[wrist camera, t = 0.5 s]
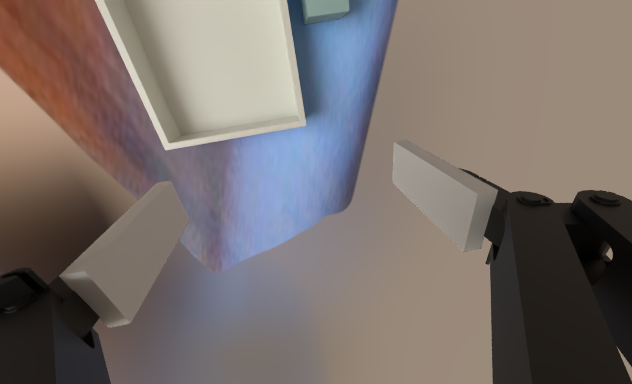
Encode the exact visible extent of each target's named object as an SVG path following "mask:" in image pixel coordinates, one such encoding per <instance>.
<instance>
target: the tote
mask: <svg viewBox="0 0 632 384" xmlns="http://www.w3.org/2000/svg"><path fill="white" fill-rule="evenodd" d="M95 1H96V3H97V6H98V8H99V10H100V12H101V14H102V16H103V18H104V20H105V23H106V25H107V27H108V29H109V31H110V33H111V35H112V37H113V40H114V42H115V44H116V46H117V48H118V50H119V52H120V54H121V57H122V59H123V61H124V63H125V65H126V67H127V69H128V72H129V74H130V76H131V78H132V80H133V82H134V84H135V86H136V89H137V91H138V93H139V95H140V97H141V99H142V101H143V103H144V106H145V108H146V110H147V112H148V114H149V116H150V118H151V120H152V123H153V125H154V127H155V129H156V131H157V133H158V135H159V137H160V140H161V142H162V144H163V146H164V148H165V150H170V149H176V148H181V147H187V146H193V145H199V144H204V143H210V142H216V141H221V140H227V139H233V138H239V137H244V136H250V135H256V134H262V133H267V132H273V131H279V130H284V129H290V128H296V127H302V126H306V119H305V113H304V107H303V100H302V94H301V87H300V81H299V75H298V68H297V62H296V55H295V49H294V43H293V36H292V30H291V23H290V17H289V11H288V4H287V0H95Z"/></svg>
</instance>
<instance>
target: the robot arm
mask: <svg viewBox="0 0 632 384" xmlns="http://www.w3.org/2000/svg"><path fill="white" fill-rule="evenodd" d="M392 182H393V183H394V184H395V185H396V186H397V187H398V188H399V189H400V190H401V191H402V192H403V193H404V194H405V195H406V196H407V197H408V198H409V199H410V200H411V201H412V202H413V203H414V204H415V205H416V206H417V207H418V208H419V209H420V210H421V211H422V212H423V213H424V214H425V215H426V216H427V217H428V218H429V219H430V220H431V221H432V222H433V223H434V224H435V225H436V226H437V227H438V228H439V229H440V230H441V231H442V232H443V233H444V234H445V235H446V236H447V237H448V238H449V239H450V240H452V241H453V242H454V243H455V244H456V245H457V246H458V247H459V248H460V249H461V250H462V251H463V252H467V251H471V250H476V249H481V247H482V243H483V240H484V237H486V238H487V239H488V240H489V241H491V242H492V245H491V248H490V251H489V254H488V257H487V261H486V264H489V263H490V279H491V318H492V319H491V324H492V366H493V367H492V368H493V384H632V381H631V379H630V377H629V374H628V372H627V370H626V367H625V365H624V363H623V361H622V358H621V356H620V353H619V351H618V349H619V350H620V351H621V353H622V354H623V355H624V357H625V358H626V360H627V361H628V362H629V364H630V365H631V366H632V201H631V200H629V199H627V198H625V197H623V196H619V195H616V194H615V193H612V192H606V191H601V190H600V191H594V190H586V191H581V192H578V193H577V195H576V197H575V199H574V201H573V203H554V202H553V200H551V199H549V198H548V197H546V196H543V195H540V194H537V193H532V192H522V191H518V192H512V193H510V192H508V191H506V190H504V189H502V188H500V187H499V186H497V185H495V184H493V183H491V182H489V181H486V179H484V178H482V177H479V176H478V175H476V174H474V173H472V172H470V171H467V170H464V169H460V168H456V167H455V166H453V165H451V164H449V163H447V162H446V161H444V160H442V159H440V158H439V157H437V156H435V155H433V154H431V153H429V152H428V151H426V150H424V149H422V148H420V147H419V146H417V145H415V144H413V143H411V142H409V141H408V140H402V141H396V142H394V154H393V180H392ZM189 221H190V219H189V217H188V215H187V213H186V211H185V209H184V207H183V205H182V203H181V201H180V199H179V197H178V195H177V193H176V191H175V189H174V187H173V184H172V182H171V181H166V182H160V183H156V184H155V185H154V186H153V187H152V188H151V189H150V190H149V191H148V192H147V193H146V194H145V195H144V196H143V197H142V198H140V199H139V200H138V201H137V202H136V203H135V204H134V205H133V206H132V207H131V208H130V209H129V210H128V211H127V212H126V213H125V214H124V215H123V216H121V217H120V219H118V220H117V221H116V222H115V223H114V224H113V225H112V226H111V227H110V228H109V229H108V230H107V231H106V232H105V233H104V234H103V235H101V236H100V237H99V238H98V239H97V240H96V241H95V242H94V243H92V244H91V245H90V246H89V247H88V248H87V249H86V250H85V251H84V252H83V253H82V254H81V255H79V256H78V257H77V258H76V259H75V261H73V262H72V263H71V264H70V265H69V266H68V267H67V268H66V269H65V270H64V271H62V272H61V273H60V274H59V275H58V276H57V277H56V278H55V279H54V280H53V281H52V282H51V283H50V284H49V285H47V284H46V283H45V282H44V281H43V280H42V279H41V278H40V277H39V276H38V275H37V274H36V273H35V272H34V271H33V270H32V269H31V268H20V269H16V270H13V271H10V272H7V273H5V274H2V275H0V384H111V383H110V379H109V375H108V371H107V367H106V363H105V359H104V355H103V351H102V348H101V343H100V340H99V335H98V333H97V332H96V331H95V330H94V329H93V328H92V327H93V326H94V324H95V323H96V322H97V320H98V319H99V318H100V319H101V320H102V321H103V322H104V323H105V324H106V325H107V326H108V327H115V326H119V325H124V324H129V323H131V321H132V320H133V318H134V316H135V314H136V313H137V311H138V309H139V308H140V306H141V304H142V302H143V301H144V299H145V297H146V295H147V294H148V292H149V290H150V288H151V287H152V285H153V283H154V281H155V280H156V278H157V276H158V275H159V272H160V271H161V269H162V268H163V266H164V264H165V262H166V261H167V259H168V257H169V255H170V253H171V252H172V250H173V249H174V247H175V245H176V243H177V242H178V240H179V238H180V236H181V235H182V233H183V231H184V230H185V228H186V226H187V224H188V223H189ZM610 247H611V249H612V251H613V258H612V260H610V258H609V257H608V256H607V255H606V253H607V252H608V250H609V248H610ZM617 347H618V349H617Z"/></svg>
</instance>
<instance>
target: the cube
mask: <svg viewBox="0 0 632 384" xmlns="http://www.w3.org/2000/svg"><path fill="white" fill-rule="evenodd" d="M301 5H302V13H303V20H304V25H305V24H312V23H319V22H325V21H332V20H339V19H341V18H342V17H343V16H344V15H345V14H347V13H348V12H349V0H301Z"/></svg>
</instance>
